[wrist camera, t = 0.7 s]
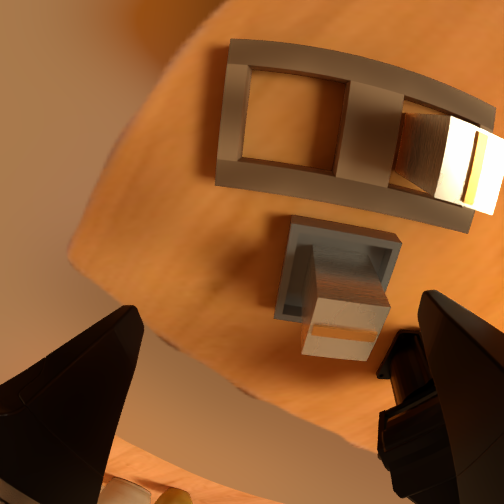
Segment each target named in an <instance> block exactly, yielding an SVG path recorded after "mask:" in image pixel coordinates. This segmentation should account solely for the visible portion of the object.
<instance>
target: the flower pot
mask: <svg viewBox="0 0 504 504" xmlns="http://www.w3.org/2000/svg"><path fill="white" fill-rule="evenodd" d="M155 504H193V503H192V500H191V497H190V495H189V493H187V492H186V491H183V490H180V489H176V488H169V489H168V490H166V491H165V492H164V493H163V494H162V495H161V496H160V497H159V498H158V499H157V501H156V502H155Z"/></svg>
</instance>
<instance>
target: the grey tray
mask: <svg viewBox="0 0 504 504" xmlns="http://www.w3.org/2000/svg"><path fill="white" fill-rule="evenodd" d="M313 245H318V246H324V247H330V248H335V249H341V250H347V251H353V252H359V253H365V254H368V256H369V258H370V260H371V262H372V264H373V267H374V269H375V271H376V273H377V276H378V278H379V280H380V283H381V285H382V287H383V290H384V292H385V291H386V289H387V286H388V283H389V281H390V278H391V275H392V272H393V269H394V266H395V263H396V260H397V258H398V254H399V251H400V248H401V245H402V242H401V241H400V240H399V238H398V237H397V236H396V234H394V233H389V232H384V231H379V230H374V229H369V228H363V227H358V226H353V225H347V224H342V223H336V222H331V221H325V220H319V219H314V218H308V217H302V216H296V215H292V217H291V223H290V229H289V234H288V240H287V246H286V251H285V257H284V262H283V268H282V273H281V279H280V284H279V289H278V294H277V300H276V305H275V312H274V319H279V320H285V321H292V322H299V323H302V290H303V286H304V281H305V277H306V273H307V268H308V264H309V259H310V255H311V250H312V246H313Z"/></svg>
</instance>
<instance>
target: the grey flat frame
mask: <svg viewBox="0 0 504 504" xmlns="http://www.w3.org/2000/svg"><path fill="white" fill-rule="evenodd" d="M252 70H261V71H271V72H280V73H287V74H295V75H301V76H308V77H314V78H319V79H325V80H330V81H335V82H340V83H345V84H346V85H345V93H344V100H343V107H342V114H341V121H340V127H339V134H338V140H337V146H336V152H335V157H334V163H333V169H332V171H328V170H322V169H317V168H311V167H305V166H299V165H293V164H287V163H281V162H274V161H267V160H260V159H252V158H244V157H242V151H243V142H244V133H245V124H246V115H247V107H248V98H249V90H250V82H251V74H252ZM404 99H405V100H408V101H411V102H414V103H417V104H420V105H423V106H426V107H429V108H432V109H435V110H437V111H440V112H443V113H445V114H448V115H450V116H453V117H455V118H458V119H460V120H463V121H465V122H467V123H469V124H472V125H474V126H476V127H478V128H480V129H483V130H485V131H487V132H489V133H491V134H493V128H494V121H495V113H496V108H495V107H493V106H492V105H490V104H488V103H486V102H484V101H482V100H480V99H478V98H476V97H474V96H471V95H469V94H467V93H465V92H463V91H461V90H458V89H456V88H454V87H451V86H449V85H447V84H444V83H442V82H439V81H437V80H434V79H431V78H429V77H426V76H423V75H421V74H418V73H415V72H412V71H409V70H406V69H403V68H400V67H397V66H394V65H390V64H387V63H383V62H380V61H376V60H373V59H369V58H365V57H361V56H357V55H352V54H348V53H343V52H339V51H334V50H329V49H323V48H318V47H312V46H305V45H299V44H291V43H283V42H274V41H263V40H249V39H230V45H229V53H228V61H227V69H226V77H225V85H224V94H223V103H222V112H221V122H220V132H219V142H218V153H217V164H216V176H215V186H222V187H230V188H238V189H245V190H252V191H259V192H266V193H272V194H279V195H285V196H291V197H297V198H303V199H309V200H315V201H320V202H326V203H332V204H337V205H342V206H347V207H353V208H358V209H363V210H368V211H373V212H377V213H382V214H387V215H391V216H396V217H401V218H405V219H409V220H414V221H418V222H422V223H427V224H431V225H435V226H439V227H443V228H447V229H451V230H455V231H459V232H463V233H466V234H468V232H469V229H470V226H471V222H472V219H473V216H474V213H475V209H472V208H469V207H465V206H462V205H459V204H456V203H452V202H449V201H445V200H442V199H438V198H435V197H433V196H432V195H430V194H428V193H424V192H420V191H417V190H413V189H409V188H405V187H401V186H397V185H393V184H389V178H390V174H391V169H392V164H393V160H394V154H395V149H396V144H397V138H398V133H399V127H400V121H401V114H402V108H403V101H404Z"/></svg>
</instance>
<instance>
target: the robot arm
mask: <svg viewBox="0 0 504 504" xmlns="http://www.w3.org/2000/svg"><path fill="white" fill-rule="evenodd" d="M418 322H419V326H420V330H421V331H410V330H400V331H399V332H398V333H397V335H396V337H395V339H394V341H393V343H392V345H391V347H390V349H389V351H388V353H387V355H386V356H385V358H384V360H383V362H382V364H381V366H380V368H379V369H378V371H377V373H376V375H377V378H378V379H390V381H391V385H392V389H393V393H394V397H395V402H396V406H394V407H392V408H390V409H388V410H386V411H385V410H384V411H382V412H380V413H379V424H378V445H377V450H378V458H379V459H380V460H382V462H383V464H384V466H385V468H386V469H387V470H388V471H390V473H391V479H392V485H393V490H394V492H396V494H397V495H398V496H399V497H400V498H405V497H407V498H408V499H410V500H411V501H412V502H414V503H415V504H504V333H503V332H501V331H500V330H498V329H497V328H495V327H494V326H492V325H491V324H489V323H488V322H486V321H484V320H483V319H481V318H480V317H478V316H477V315H475V314H474V313H472V312H471V311H469V310H467V309H466V308H464V307H463V306H461V305H460V304H458V303H456V302H455V301H453V300H452V299H450V298H448V297H447V296H445V295H443V294H442V293H440V292H439V291H437V290H427V291H424V292H423V294H422V297H421V301H420V305H419V309H418ZM143 333H144V325H143V322H142V319H141V317H140V315H139V312H138V310H137V308H136V307H135V306H134V305H123V306H121V307H120V308H119V309H117V310H115V311H114V312H112V313H111V314H109V315H108V316H106V317H105V318H103V319H101V320H100V321H98V322H97V323H95V324H94V325H92V326H91V327H89V328H88V329H86V330H85V331H83V332H82V333H80V334H79V335H77V336H76V337H74V338H73V339H71V340H70V341H68V342H67V343H65V344H64V345H62V346H61V347H59V348H58V349H56V350H55V351H53V352H52V353H50V354H49V355H48V356H46V358H43V359H41V360H40V361H38V362H37V363H35V364H34V365H32V366H31V367H29V368H28V369H26V370H25V371H23V372H21V373H20V374H18V375H16V376H15V377H13V378H12V379H10V380H8V381H7V382H5V383H3V384H1V385H0V504H97V502H98V498H99V494H100V490H101V485H102V481H103V476H104V473H105V469H106V465H107V461H108V457H109V454H110V450H111V446H112V443H113V439H114V436H115V432H116V429H117V425H118V422H119V418H120V415H121V412H122V409H123V406H124V402H125V399H126V396H127V393H128V390H129V387H130V384H131V381H132V378H133V374H134V371H135V368H136V364H137V359H138V354H139V350H140V346H141V341H142V337H143ZM401 335H402V336H401Z"/></svg>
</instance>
